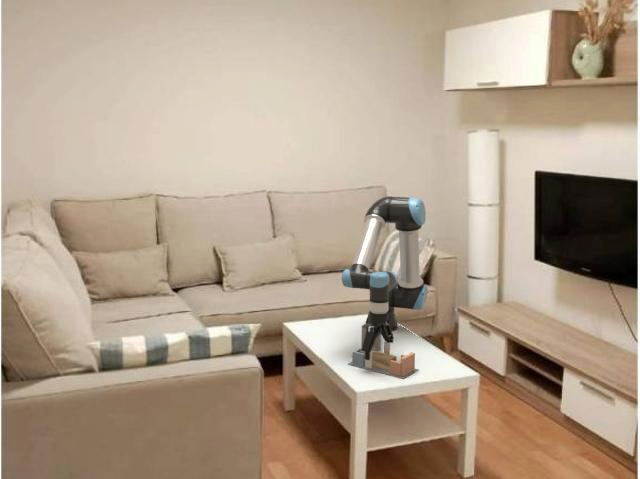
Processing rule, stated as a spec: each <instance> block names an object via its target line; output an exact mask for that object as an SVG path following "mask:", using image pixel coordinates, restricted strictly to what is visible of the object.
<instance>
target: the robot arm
mask: <svg viewBox="0 0 640 479" xmlns="http://www.w3.org/2000/svg"><path fill="white" fill-rule="evenodd" d="M426 214H427V213H426V208H425V203H424V201H423V200H422V199H421V198H418V197H417V198H416V197H413V196H410V197H407V196H406V197H405V196H402V197H401V196H392V195H391V196H390V195H389V196H384V197H382V198H379V199H378V200H376V201H375V202H373V204H372V205H371V206H370V207H369V209H368V210H367V212H366V214H365V215H364V219H363V222H364V226H363V230H362V233H361V235H360V239H359V242H358V244H357V248H356V251H355V254H354V256H353V259H352V264H351V266H350V268H346V269H343V271H342V275H341V283H342V285H343V287H346V288H351V289H360V290H361V289H362V290H369V302H368V303H369V312H368V314H367V318H366V320H365V324H372V325H371V327H369V326H367V329H366V335H365V339H364V342H363V346H362V351H365V367H368V368H372V352H371V350H372V347H373V345H374V342H375V340H376V338H377V337H378V335H380V334H381V337H382V338H383V340H384V342H383V352H382V353H386V354H390V355H391V343H392V344H393V343H394V339H395V338H394V333H393V331H396V330H397V329H398V325H399V324H398V319H397V316H396V313H395V308H396V309H397V308H399V309H404V310H405V309H407V310H418V311H420V310H422V309H423V308H424V307H425V304H426V302H427V297H428V291H429V290H428V289H429V287H428V285H427V284H424V279H423V278H421V274H420V273H421V271H420V269H421V268H420V248H419V246H420V245H419V244H420V238H419V231H420V230H421V229H422V226H424V224H426V223H425V222H426ZM386 224H394V228H395V230H397V232H398V241H399V243H398V244H399V261H400V262H399V264H400V278H399V279H398V276H397V274H396V272H394V271H392V270H385V271H374V270H373V271H371V270H370V269H371V266H372V261H373V258H374V254H375V252H376V249H377V246H378V243H379V242H378V241H379V239H380V237H381V233H382V230H383V229H385V227H386ZM373 333H374V334H373Z"/></svg>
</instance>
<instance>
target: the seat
mask: <svg viewBox="0 0 640 479" xmlns="http://www.w3.org/2000/svg"><path fill="white" fill-rule="evenodd" d="M361 350H362V347H359V348H356V349H355V350H353V351H352V354H351V355H352V356H351V359H352V360H351V362H348V363H347V365H349V366H351V367H356V368H360V369H364V370H367V371H371V372H375V373H378V374H383V375H387V376H391V377H394V378H397V379H402V380H405V379H407V378H408V377H410V376H411V375H413V374H415V373H417V372H419V371H420V369H418V368H415V370H414V371H412V372H410V373H408V374H407V375H405V376H401V375H400V376H399V375H395V374H391V373H390V371H389V370H385V369H381V368H377V367H374V366H372V368H368V367H365V354H364V353H360V352H359V351H361ZM372 350H373V351H376V348H372Z"/></svg>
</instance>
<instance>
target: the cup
mask: <svg viewBox="0 0 640 479" xmlns="http://www.w3.org/2000/svg"><path fill="white" fill-rule="evenodd" d="M371 325H372V324H366V323H365V324H362V325H361V339H360V340H361V342H360V343H361V345H360V346H361V347H362V346H363V342H364V339H365V335H366V329H367V326H369V327H371ZM373 334H374V333H373ZM361 347H360V348H361ZM372 348H376V351H377V352H381V349H382V335H381V334H380V335H378V337H377V338H376V340H375V342H374V345H373V347H372Z"/></svg>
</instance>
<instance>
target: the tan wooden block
mask: <svg viewBox="0 0 640 479" xmlns="http://www.w3.org/2000/svg"><path fill="white" fill-rule="evenodd" d="M359 352H360V353H364V354H365V351H362V350H361V351H359ZM371 352H372V366H374V367H377V368H381V369H385V370H389V371H390V361H391V360H393V361H398V360H397V357H398V356H397V355H393V354H391V353H390V354H386V353H383V352H381V351H378V352H377V351H373V350H371Z"/></svg>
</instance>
